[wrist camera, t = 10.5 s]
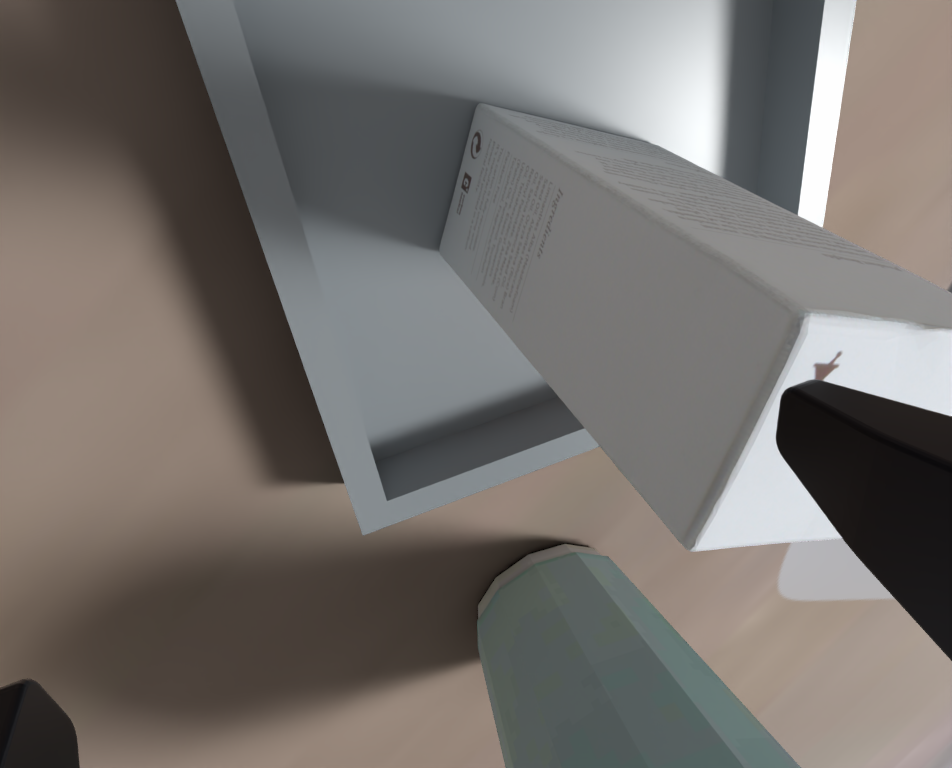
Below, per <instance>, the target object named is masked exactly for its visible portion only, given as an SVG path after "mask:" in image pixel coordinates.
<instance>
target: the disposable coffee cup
mask: <svg viewBox="0 0 952 768" xmlns="http://www.w3.org/2000/svg"><path fill="white" fill-rule="evenodd" d="M477 635H478V651H479V655H480V659H481V663H482V668H483V672H484V676H485V681H486V685H487V689H488V694H489V698H490V702H491V706H492V711H493V715H494V719H495V724H496V728H497V732H498V737H499V741H500V745H501V749H502V754H503V758H504V762H505V767H506V768H801V767H800V766H799V765H798V764H797V763H796V762H795V761H794V759H793V758H792V757H791V756H790V755H789V754H788V753H787V752H786V751H785V750H784V749H783V747H782V746H781V745H780V744H779V743H778V742H777V741H776V740H775V739H774V738H773V736H772V735H771V734H770V733H769V732H768V731H767V730H766V729H765V728H764V727H763V726H762V724H761V723H760V722H759V721H758V720H757V719H756V718H755V717H754V716H753V715H752V713H751V712H750V711H749V710H748V709H747V708H746V707H745V706H744V705H743V704H742V702H741V701H740V700H739V699H738V698H737V697H736V696H735V695H734V694H733V693H732V692H731V690H730V689H729V688H728V687H727V686H726V685H725V684H724V683H723V682H722V681H721V679H720V678H719V677H718V676H717V675H716V674H715V673H714V672H713V671H712V670H711V669H710V667H709V666H708V665H707V664H706V663H705V662H704V661H703V660H702V659H701V658H700V656H699V655H698V654H697V653H696V652H695V651H694V650H693V649H692V648H691V647H690V646H689V644H688V643H687V642H686V641H685V640H684V639H683V638H682V637H681V636H680V635H679V633H678V632H677V631H676V630H675V629H674V628H673V627H672V626H671V625H670V624H669V623H668V621H667V620H666V619H665V618H664V617H663V616H662V615H661V614H660V613H659V612H658V610H657V609H656V608H655V607H654V606H653V605H652V604H651V603H650V602H649V601H648V599H647V598H646V597H645V596H644V595H643V594H642V593H641V592H640V591H639V590H638V589H637V587H636V586H635V585H634V584H633V583H632V582H631V581H630V580H629V579H628V578H627V576H626V575H625V574H624V573H623V572H622V571H621V570H620V569H619V568H618V567H617V566H616V564H615V563H614V562H613V561H612V560H611V559H610V558H609V557H608V556H601V555H600V554H599V553H598V552H597V551H596V550H595V549H594V548H589V547H582V546H575V545H569V544H563V545H559V546H556V547H552V548H549V549H546V550H542V551H539V552H535V553H532V554H528V555H527V556H526V557H524V558H523V559H521V560H520V561H518V562H517V563H516V564H514V565H513V566H511V567H510V568H509V569H507V570H506V571H504V572H503V573H502V574H500V575H499V576H497V577H496V578H495V580H494V581H493V583H492V584H491V586H490V587H489V589H488V591H487V592H486V594H485V595H484V597H483V598H482V600H481V601H480V603H479V604H478V621H477Z"/></svg>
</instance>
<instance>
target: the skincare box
mask: <svg viewBox="0 0 952 768" xmlns="http://www.w3.org/2000/svg"><path fill="white" fill-rule="evenodd" d="M439 252H440V254H441V256H442V257H443V259H444V260H445V261H446V262H447V263H448V264H449V265H450V267H451V268H452V269H453V270H454V272H455V273H456V274H457V275H458V276H459V278H460V279H461V280H462V281H463V282H464V284H465V285H466V286H467V287H468V288H469V290H470V291H471V292H472V293H473V294H474V296H475V297H476V298H477V299H478V301H479V302H480V303H481V304H482V305H483V306H484V308H485V309H486V310H487V311H488V312H489V313H490V315H491V316H492V317H493V318H494V320H495V321H496V322H497V323H498V324H499V326H500V327H501V328H502V329H503V331H504V332H505V333H506V334H507V335H508V337H509V338H510V339H511V340H512V341H513V343H514V344H515V345H516V346H517V348H518V349H519V350H520V351H521V352H522V354H523V355H524V356H525V357H526V358H527V360H528V361H529V362H530V363H531V364H532V366H533V367H534V368H535V369H536V370H537V372H538V373H539V374H540V375H541V376H542V377H543V378H544V379H545V381H546V382H547V383H548V385H549V386H550V387H551V388H552V389H553V390H554V392H555V393H556V394H557V395H558V397H559V398H560V399H561V400H562V401H563V402H564V404H565V405H566V406H567V407H568V409H569V410H570V411H571V412H572V414H573V415H574V416H575V417H576V418H577V419H578V421H579V422H580V423H581V424H582V425H583V427H584V428H585V429H586V430H587V432H588V433H589V434H590V435H591V436H592V437H593V439H594V440H595V441H596V442H597V443H598V445H599V446H600V447H601V448H602V450H603V451H604V452H605V453H606V454H607V455H608V457H609V458H610V459H611V460H612V461H613V463H614V464H615V465H616V467H617V468H618V469H619V470H620V471H621V472H622V474H623V475H624V476H625V477H626V478H627V480H628V481H629V482H630V483H631V484H632V485H633V487H634V488H635V489H636V490H637V491H638V493H639V494H640V495H641V496H642V497H643V499H644V500H645V501H646V502H647V503H648V505H649V506H650V507H651V508H652V509H653V511H654V512H655V513H656V514H657V515H658V517H659V518H660V519H661V520H662V521H663V523H664V524H665V525H666V526H667V527H668V529H669V530H670V531H671V532H672V534H673V535H674V536H675V537H676V539H677V540H678V541H679V542H680V543H681V544H682V545H683V546H684V547H685V548H686V549H687V550H689V551H691V552H693V551H705V550H715V549H724V548H733V547H744V546H756V545H766V544H778V543H791V542H805V541H818V540H832V539H843V538H842V537H841V536H840V535H839V533H838V532H837V531H836V529H835V528H834V526H833V525H832V524H831V522H830V521H829V520H828V518H827V517H826V516H825V514H824V513H823V512H822V510H821V509H820V508H819V506H818V505H817V503H816V502H815V501H814V499H813V498H812V497H811V495H810V494H809V493H808V491H807V490H806V489H805V487H804V486H803V485H802V483H801V482H800V480H799V479H798V478H797V476H796V475H795V474H794V472H793V471H792V470H791V468H790V467H789V466H788V464H787V463H786V462H785V460H784V459H783V457H782V456H781V454H780V452H779V450H778V447H777V444H776V429H777V421H778V413H779V406H780V399H781V395H782V394H783V392H784V391H785V390H786V389H787V388H789V387H792V386H794V385H797V384H799V383H802V382H805V381H807V380H812V379H817V380H822V381H826V382H829V383H833V384H836V385H840V386H844V387H847V388H851V389H855V390H858V391H862V392H865V393H869V394H873V395H876V396H880V397H884V398H887V399H891V400H894V401H898V402H902V403H905V404H909V405H913V406H916V407H920V408H923V409H927V410H931V411H934V412H938V413H941V414H945V415H949V416H952V293H950V292H949V291H947V290H945V289H943V288H941V287H939V286H937V285H935V284H933V283H931V282H930V281H928V280H926V279H924V278H922V277H920V276H918V275H916V274H914V273H912V272H910V271H908V270H906V269H904V268H902V267H900V266H898V265H896V264H894V263H892V262H890V261H888V260H886V259H884V258H882V257H880V256H878V255H876V254H874V253H872V252H870V251H868V250H866V249H864V248H862V247H860V246H858V245H856V244H854V243H852V242H850V241H848V240H846V239H844V238H842V237H840V236H838V235H836V234H834V233H832V232H830V231H828V230H826V229H824V228H822V227H820V226H818V225H816V224H814V223H812V222H810V221H808V220H806V219H804V218H802V217H800V216H798V215H796V214H794V213H792V212H790V211H788V210H786V209H784V208H782V207H779V206H777V205H775V204H773V203H771V202H769V201H767V200H765V199H763V198H761V197H759V196H757V195H755V194H753V193H751V192H749V191H747V190H745V189H743V188H741V187H739V186H737V185H735V184H733V183H732V182H730V181H728V180H726V179H724V178H722V177H720V176H718V175H716V174H714V173H712V172H710V171H708V170H706V169H704V168H702V167H699V166H697V165H696V164H694V163H692V162H690V161H688V160H686V159H684V158H682V157H680V156H678V155H676V154H674V153H672V152H670V151H668V150H666V149H664V148H662V147H660V146H658V145H654V144H650V143H646V142H642V141H638V140H634V139H630V138H626V137H622V136H617V135H613V134H609V133H604V132H600V131H596V130H592V129H588V128H584V127H580V126H576V125H571V124H567V123H563V122H559V121H555V120H551V119H546V118H542V117H538V116H533V115H529V114H525V113H521V112H516V111H512V110H508V109H504V108H499V107H495V106H491V105H487V104H483V103H479V104H478V105H477V107H476V109H475V113H474V117H473V121H472V124H471V128H470V132H469V136H468V140H467V144H466V147H465V151H464V155H463V159H462V164H461V168H460V171H459V175H458V179H457V183H456V186H455V190H454V195H453V198H452V202H451V206H450V209H449V213H448V217H447V221H446V225H445V228H444V232H443V235H442V239H441V244H440V248H439Z"/></svg>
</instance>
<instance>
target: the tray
mask: <svg viewBox="0 0 952 768" xmlns="http://www.w3.org/2000/svg"><path fill="white" fill-rule="evenodd" d="M176 3H177V6H178V9H179V12H180V15H181V17H182V20H183V23H184V26H185V29H186V32H187V35H188V37H189V40H190V43H191V46H192V49H193V52H194V55H195V57H196V60H197V63H198V66H199V69H200V72H201V75H202V77H203V80H204V83H205V86H206V89H207V92H208V95H209V97H210V100H211V103H212V106H213V109H214V112H215V115H216V117H217V120H218V123H219V126H220V129H221V132H222V135H223V137H224V140H225V143H226V146H227V149H228V152H229V155H230V157H231V160H232V163H233V166H234V169H235V172H236V175H237V177H238V180H239V183H240V186H241V189H242V192H243V195H244V197H245V200H246V203H247V206H248V209H249V212H250V215H251V217H252V220H253V223H254V226H255V229H256V232H257V235H258V237H259V240H260V243H261V246H262V249H263V252H264V255H265V257H266V260H267V263H268V266H269V269H270V272H271V275H272V277H273V280H274V283H275V286H276V289H277V292H278V295H279V297H280V300H281V303H282V306H283V309H284V312H285V315H286V317H287V320H288V323H289V326H290V329H291V332H292V335H293V337H294V340H295V343H296V346H297V349H298V352H299V355H300V357H301V360H302V363H303V366H304V369H305V372H306V375H307V377H308V380H309V383H310V386H311V389H312V392H313V395H314V397H315V400H316V403H317V406H318V409H319V412H320V415H321V417H322V420H323V423H324V426H325V429H326V432H327V435H328V437H329V440H330V443H331V446H332V449H333V452H334V455H335V457H336V460H337V463H338V466H339V469H340V472H341V475H342V477H343V480H344V483H345V486H346V489H347V492H348V495H349V497H350V500H351V503H352V506H353V509H354V512H355V515H356V517H357V520H358V523H359V526H360V529H361V532H362V535H366V534H369V533H371V532H374V531H377V530H379V529H382V528H385V527H387V526H390V525H393V524H395V523H398V522H400V521H403V520H406V519H408V518H411V517H414V516H416V515H419V514H422V513H424V512H427V511H430V510H432V509H435V508H438V507H440V506H443V505H446V504H448V503H451V502H454V501H456V500H459V499H462V498H464V497H467V496H469V495H472V494H475V493H477V492H480V491H483V490H485V489H488V488H491V487H493V486H496V485H499V484H501V483H504V482H507V481H509V480H512V479H515V478H517V477H520V476H523V475H525V474H528V473H531V472H533V471H536V470H538V469H541V468H544V467H546V466H549V465H552V464H554V463H557V462H560V461H562V460H565V459H568V458H570V457H573V456H576V455H578V454H581V453H584V452H586V451H589V450H592V449H594V448H597V447H600V446H599V445H598V443H597V442H596V441H595V440H594V439H593V437H592V436H591V435H590V434H589V433H588V432H587V430H586V429H585V428H584V427H583V425H582V424H581V423H580V422H579V421H578V419H577V418H576V417H575V416H574V415H573V414H572V412H571V411H570V410H569V409H568V407H567V406H566V405H565V404H564V402H563V401H562V400H561V399H560V398H559V397H558V395H557V394H556V393H555V392H554V390H553V389H552V388H551V387H550V386H549V385H548V383H547V382H546V381H545V379H544V378H543V377H542V376H541V375H540V374H539V373H538V372H537V370H536V369H535V368H534V367H533V366H532V364H531V363H530V362H529V361H528V360H527V358H526V357H525V356H524V355H523V354H522V352H521V351H520V350H519V349H518V348H517V346H516V345H515V344H514V343H513V341H512V340H511V339H510V338H509V337H508V335H507V334H506V333H505V332H504V331H503V329H502V328H501V327H500V326H499V324H498V323H497V322H496V321H495V320H494V318H493V317H492V316H491V315H490V313H489V312H488V311H487V310H486V309H485V308H484V306H483V305H482V304H481V303H480V302H479V301H478V299H477V298H476V297H475V296H474V294H473V293H472V292H471V291H470V290H469V288H468V287H467V286H466V285H465V284H464V282H463V281H462V280H461V279H460V278H459V276H458V275H457V274H456V273H455V272H454V270H453V269H452V268H451V267H450V265H449V264H448V263H447V262H446V261H445V260H444V259H443V257H442V256H441V254H440V252H439V248H440V244H441V239H442V235H443V232H444V228H445V225H446V221H447V217H448V213H449V209H450V206H451V202H452V198H453V195H454V190H455V186H456V183H457V179H458V175H459V171H460V168H461V164H462V159H463V155H464V151H465V147H466V144H467V140H468V136H469V132H470V128H471V124H472V121H473V117H474V113H475V109H476V107H477V105H478V104H479V103H483V104H487V105H491V106H495V107H499V108H504V109H508V110H512V111H516V112H521V113H525V114H529V115H533V116H538V117H542V118H546V119H551V120H555V121H559V122H563V123H567V124H571V125H576V126H580V127H584V128H588V129H592V130H596V131H600V132H604V133H609V134H613V135H617V136H622V137H626V138H630V139H634V140H638V141H642V142H646V143H650V144H654V145H658V146H660V147H662V148H664V149H666V150H668V151H670V152H672V153H674V154H676V155H678V156H680V157H682V158H684V159H686V160H688V161H690V162H692V163H694V164H696V165H697V166H699V167H702V168H704V169H706V170H708V171H710V172H712V173H714V174H716V175H718V176H720V177H722V178H724V179H726V180H728V181H730V182H732V183H733V184H735V185H737V186H739V187H741V188H743V189H745V190H747V191H749V192H751V193H753V194H755V195H757V196H759V197H761V198H763V199H765V200H767V201H769V202H771V203H773V204H775V205H777V206H779V207H782V208H784V209H786V210H788V211H790V212H792V213H794V214H796V215H798V216H800V217H802V218H804V219H806V220H808V221H810V222H812V223H814V224H816V225H818V226H820V227H822V228H823V222H824V215H825V208H826V202H827V195H828V188H829V182H830V175H831V168H832V161H833V155H834V148H835V141H836V134H837V128H838V121H839V114H840V107H841V101H842V94H843V87H844V81H845V74H846V67H847V60H848V54H849V47H850V40H851V33H852V27H853V20H854V13H855V6H856V0H176Z"/></svg>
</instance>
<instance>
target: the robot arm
mask: <svg viewBox="0 0 952 768" xmlns="http://www.w3.org/2000/svg"><path fill="white" fill-rule="evenodd" d="M776 444H777V447H778V450H779V452H780V454H781V456H782V457H783V459H784V460H785V462H786V463H787V464H788V466H789V467H790V468H791V470H792V471H793V472H794V474H795V475H796V476H797V478H798V479H799V480H800V482H801V483H802V485H803V486H804V487H805V489H806V490H807V491H808V493H809V494H810V495H811V497H812V498H813V499H814V501H815V502H816V503H817V505H818V506H819V508H820V509H821V510H822V512H823V513H824V514H825V516H826V517H827V518H828V520H829V521H830V522H831V524H832V525H833V526H834V528H835V529H836V531H837V532H838V533H839V535H840V536H841V537H842V538H843V539H844V541H845V542H846V543H847V544H848V546H849V547H850V548H851V549H852V551H853V552H854V553H855V554H856V556H857V557H858V558H859V559H860V560H861V561H862V562H863V563H864V565H865V566H866V567H867V568H868V569H869V570H870V571H871V572H872V574H873V575H874V576H875V577H876V578H877V579H878V580H879V581H880V582H881V584H882V585H883V586H884V587H885V588H886V589H887V590H888V591H889V592H890V593H891V594H892V596H893V597H894V598H895V599H896V600H897V601H898V602H899V603H900V604H901V606H902V607H903V608H904V609H905V610H906V611H907V612H908V613H909V614H910V615H911V617H912V618H913V619H914V620H915V621H916V622H917V623H918V624H919V625H920V627H921V628H922V629H923V630H924V631H925V632H926V633H927V634H928V635H929V636H930V638H931V639H932V640H933V641H934V642H935V643H936V644H937V645H938V646H939V647H940V649H941V650H942V651H943V652H944V653H945V654H946V655H947V656H948V657H949V658H950V660H951V661H952V416H949V415H945V414H941V413H938V412H934V411H931V410H927V409H923V408H920V407H916V406H913V405H909V404H905V403H902V402H898V401H894V400H891V399H887V398H884V397H880V396H876V395H873V394H869V393H865V392H862V391H858V390H855V389H851V388H847V387H844V386H840V385H836V384H833V383H829V382H826V381H822V380H817V379H812V380H807V381H805V382H802V383H799V384H797V385H794V386H792V387H789V388H787V389H786V390H785V391H784V392H783V394H782V395H781V399H780V406H779V413H778V421H777V429H776ZM0 768H80V767H79V755H78V743H77V736H76V732H75V728H74V726H73V723H72V721H71V720H70V718H69V717H68V715H67V714H66V713H65V712H64V711H63V710H62V709H61V708H60V707H59V705H58V704H57V703H56V702H55V701H54V700H53V699H52V698H51V697H50V695H49V694H48V693H47V692H46V691H45V690H44V689H43V688H42V687H41V685H40V684H38V683H37V682H36V681H34V680H32V679H22V680H20V681H17V682H14V683H12V684H9V685H6V686H4V687H1V688H0Z"/></svg>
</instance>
